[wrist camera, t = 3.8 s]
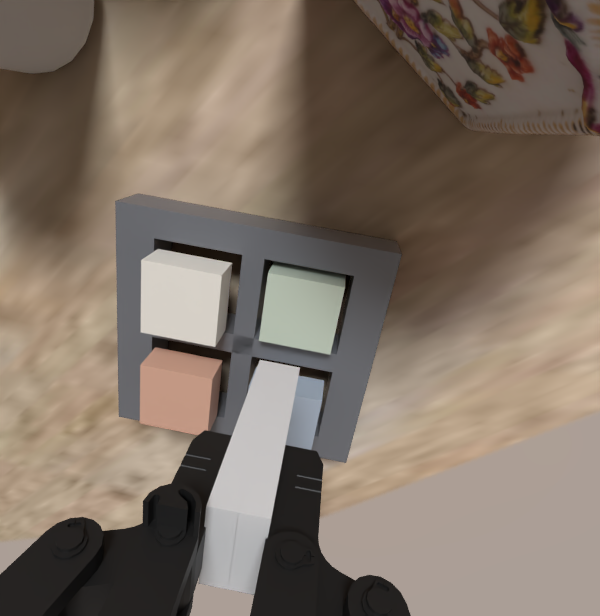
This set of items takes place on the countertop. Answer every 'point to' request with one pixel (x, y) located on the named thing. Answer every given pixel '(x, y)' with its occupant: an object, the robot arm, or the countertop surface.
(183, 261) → the cream key
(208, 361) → the terracotta key
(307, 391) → the slate key
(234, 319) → the keypad
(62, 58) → the can
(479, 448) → the countertop surface
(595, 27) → the decorative jar
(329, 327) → the sage key
